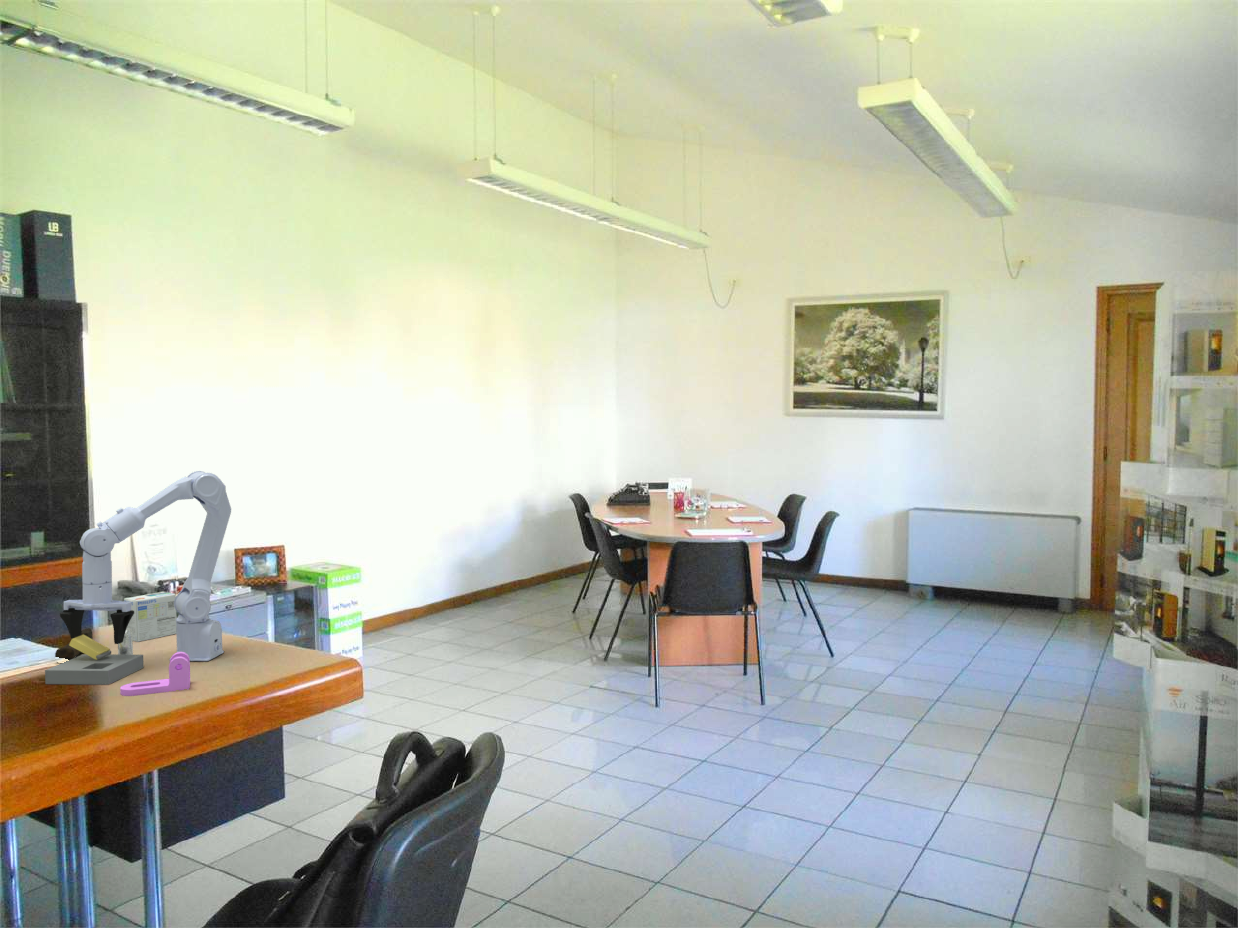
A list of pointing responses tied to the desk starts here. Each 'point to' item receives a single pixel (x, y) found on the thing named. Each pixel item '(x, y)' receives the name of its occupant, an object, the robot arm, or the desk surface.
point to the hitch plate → (94, 669)
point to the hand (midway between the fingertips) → (97, 642)
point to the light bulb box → (152, 616)
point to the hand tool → (71, 652)
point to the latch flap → (90, 647)
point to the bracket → (176, 681)
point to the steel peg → (126, 643)
